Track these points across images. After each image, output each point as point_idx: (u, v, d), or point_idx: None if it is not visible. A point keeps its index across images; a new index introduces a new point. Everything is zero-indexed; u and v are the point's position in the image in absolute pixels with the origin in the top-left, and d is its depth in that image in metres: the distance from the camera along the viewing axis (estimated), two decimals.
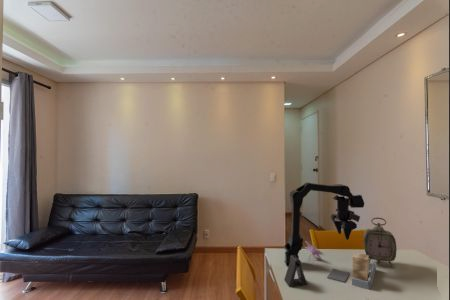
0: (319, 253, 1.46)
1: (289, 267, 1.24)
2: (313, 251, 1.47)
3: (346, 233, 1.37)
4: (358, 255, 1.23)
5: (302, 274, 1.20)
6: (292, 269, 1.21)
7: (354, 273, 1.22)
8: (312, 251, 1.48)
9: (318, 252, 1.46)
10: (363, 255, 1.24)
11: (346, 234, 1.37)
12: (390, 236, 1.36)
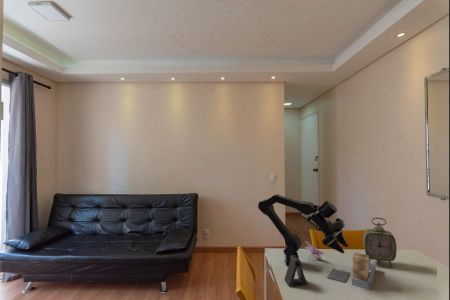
0: (319, 253, 1.47)
1: (289, 267, 1.24)
2: (313, 251, 1.47)
3: (336, 248, 1.24)
4: (358, 255, 1.23)
5: (302, 274, 1.20)
6: (292, 269, 1.21)
7: (354, 273, 1.22)
8: (312, 251, 1.48)
9: (318, 252, 1.46)
10: (363, 255, 1.24)
11: (336, 249, 1.24)
12: (390, 236, 1.36)
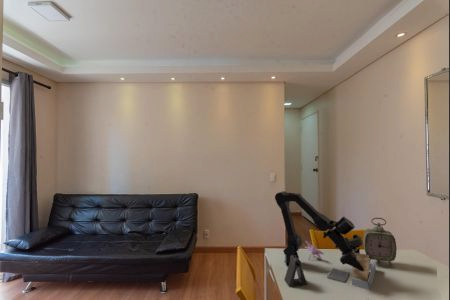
0: (319, 253, 1.47)
1: (289, 267, 1.24)
2: (313, 251, 1.48)
3: (355, 265, 1.21)
4: (358, 255, 1.23)
5: (302, 274, 1.20)
6: (292, 269, 1.21)
7: (354, 273, 1.22)
8: (312, 251, 1.48)
9: (319, 252, 1.47)
10: (363, 255, 1.24)
11: (355, 266, 1.21)
12: (390, 236, 1.36)
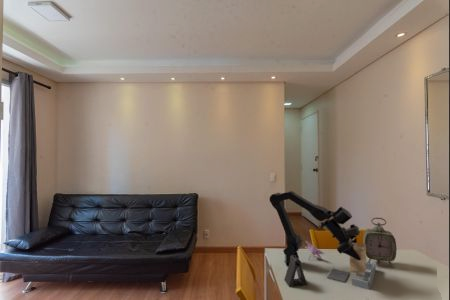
0: (319, 252, 1.47)
1: (289, 267, 1.24)
2: (313, 251, 1.48)
3: (352, 255, 1.21)
4: (355, 245, 1.24)
5: (302, 274, 1.20)
6: (292, 269, 1.21)
7: (351, 262, 1.23)
8: (312, 251, 1.48)
9: (319, 252, 1.47)
10: (360, 244, 1.24)
11: (352, 256, 1.21)
12: (390, 236, 1.36)
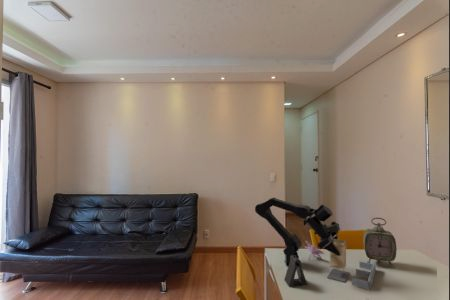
0: (319, 252, 1.47)
1: (289, 267, 1.24)
2: (313, 250, 1.48)
3: (332, 250, 1.26)
4: (335, 241, 1.29)
5: (302, 274, 1.20)
6: (292, 269, 1.21)
7: (331, 258, 1.28)
8: (312, 250, 1.48)
9: (319, 252, 1.47)
10: (340, 241, 1.29)
11: (332, 251, 1.26)
12: (390, 236, 1.36)
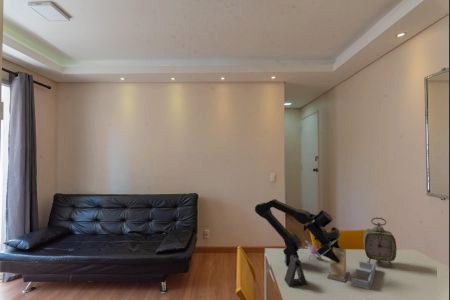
0: None
1: (289, 267, 1.24)
2: (313, 250, 1.48)
3: (331, 257, 1.25)
4: (335, 250, 1.29)
5: (302, 274, 1.20)
6: (292, 269, 1.21)
7: (331, 267, 1.28)
8: (312, 250, 1.48)
9: None
10: (340, 249, 1.30)
11: (332, 258, 1.25)
12: (390, 236, 1.36)
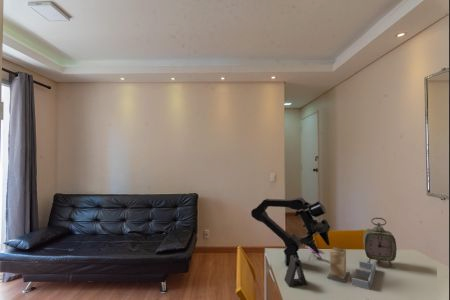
0: (319, 252, 1.48)
1: (289, 267, 1.24)
2: (313, 250, 1.48)
3: (312, 247, 1.32)
4: (335, 250, 1.29)
5: (302, 274, 1.20)
6: (292, 269, 1.21)
7: (331, 267, 1.28)
8: (312, 250, 1.49)
9: (319, 251, 1.48)
10: (340, 249, 1.30)
11: (312, 248, 1.33)
12: (390, 236, 1.36)
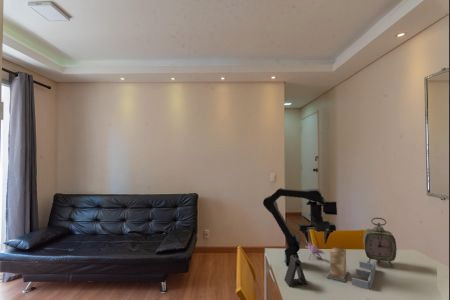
0: (319, 252, 1.48)
1: (289, 267, 1.24)
2: (313, 250, 1.49)
3: None
4: (335, 250, 1.29)
5: (302, 274, 1.20)
6: (292, 269, 1.21)
7: (331, 267, 1.28)
8: (312, 250, 1.49)
9: (319, 251, 1.48)
10: (340, 249, 1.30)
11: None
12: (390, 236, 1.36)
